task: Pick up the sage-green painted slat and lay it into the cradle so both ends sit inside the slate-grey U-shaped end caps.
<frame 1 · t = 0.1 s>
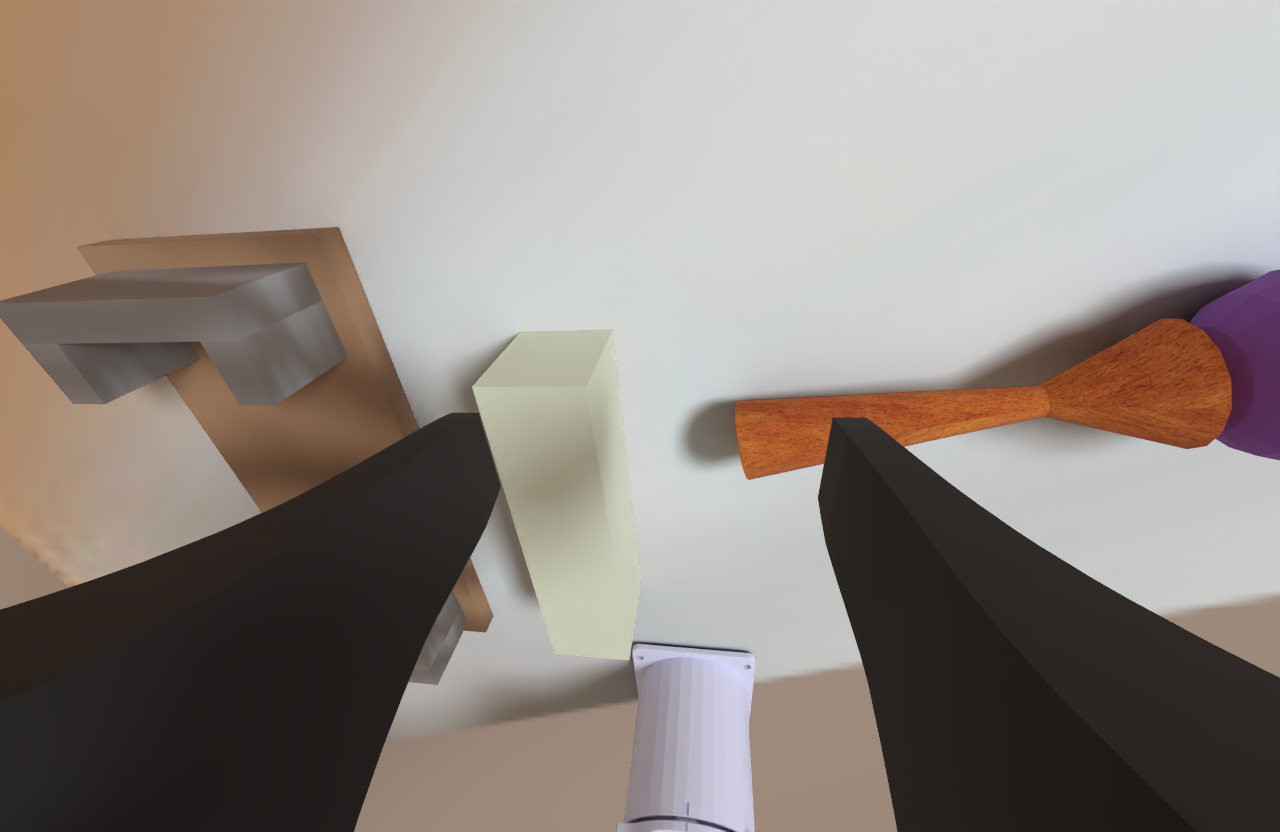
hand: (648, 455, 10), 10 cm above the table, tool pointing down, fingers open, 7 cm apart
slat: (592, 475, 24), on the table
cradle: (344, 471, 26), on the table
brown piece: (992, 368, 18), on the table
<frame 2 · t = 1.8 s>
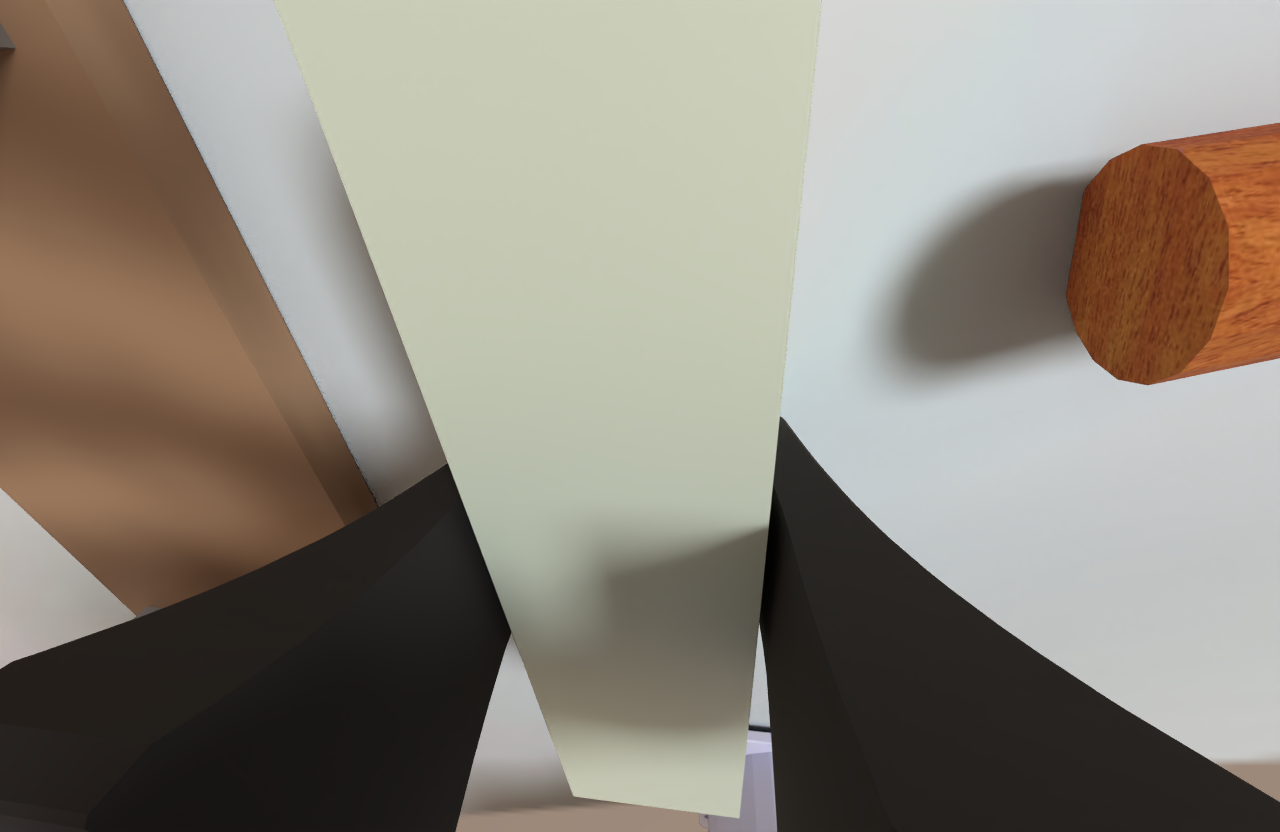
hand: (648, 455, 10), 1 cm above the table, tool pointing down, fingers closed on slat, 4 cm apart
slat: (655, 413, 11), on the table, touching gripper
cradle: (154, 412, 13), on the table
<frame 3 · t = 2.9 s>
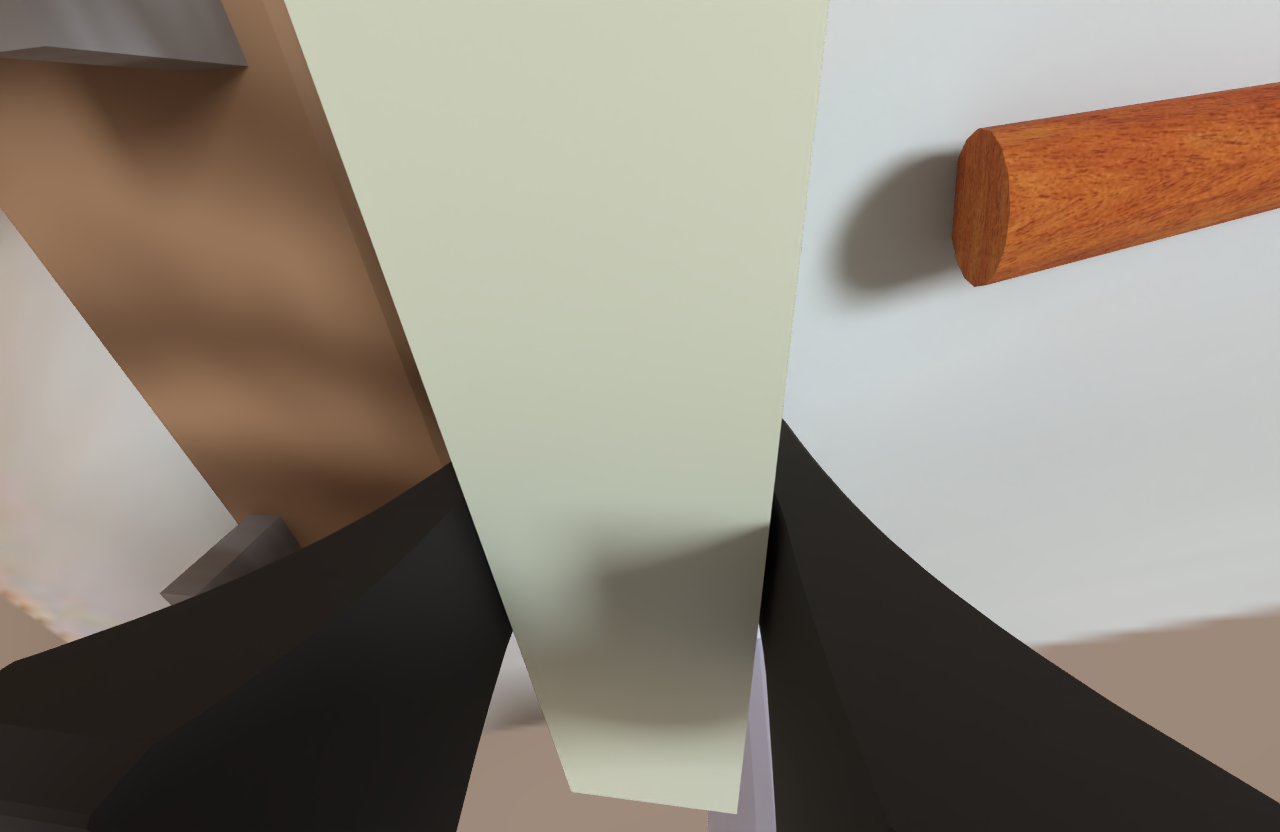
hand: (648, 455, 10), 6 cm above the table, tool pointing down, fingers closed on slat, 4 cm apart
slat: (656, 410, 11), point 4 cm above the table, touching gripper
cradle: (277, 343, 17), on the table
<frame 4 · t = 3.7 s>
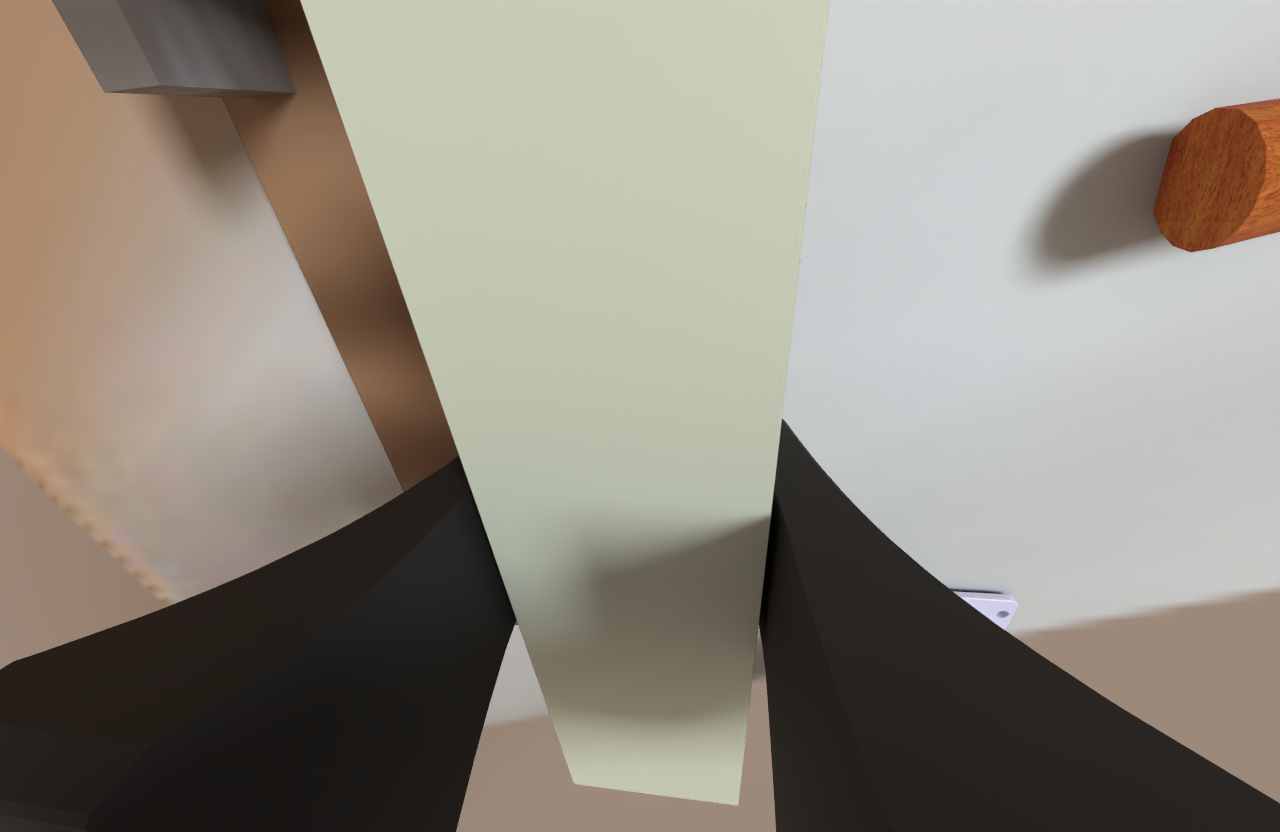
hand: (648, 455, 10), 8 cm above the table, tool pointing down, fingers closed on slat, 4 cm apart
slat: (658, 405, 11), point 7 cm above the table, touching gripper
cradle: (479, 321, 18), on the table
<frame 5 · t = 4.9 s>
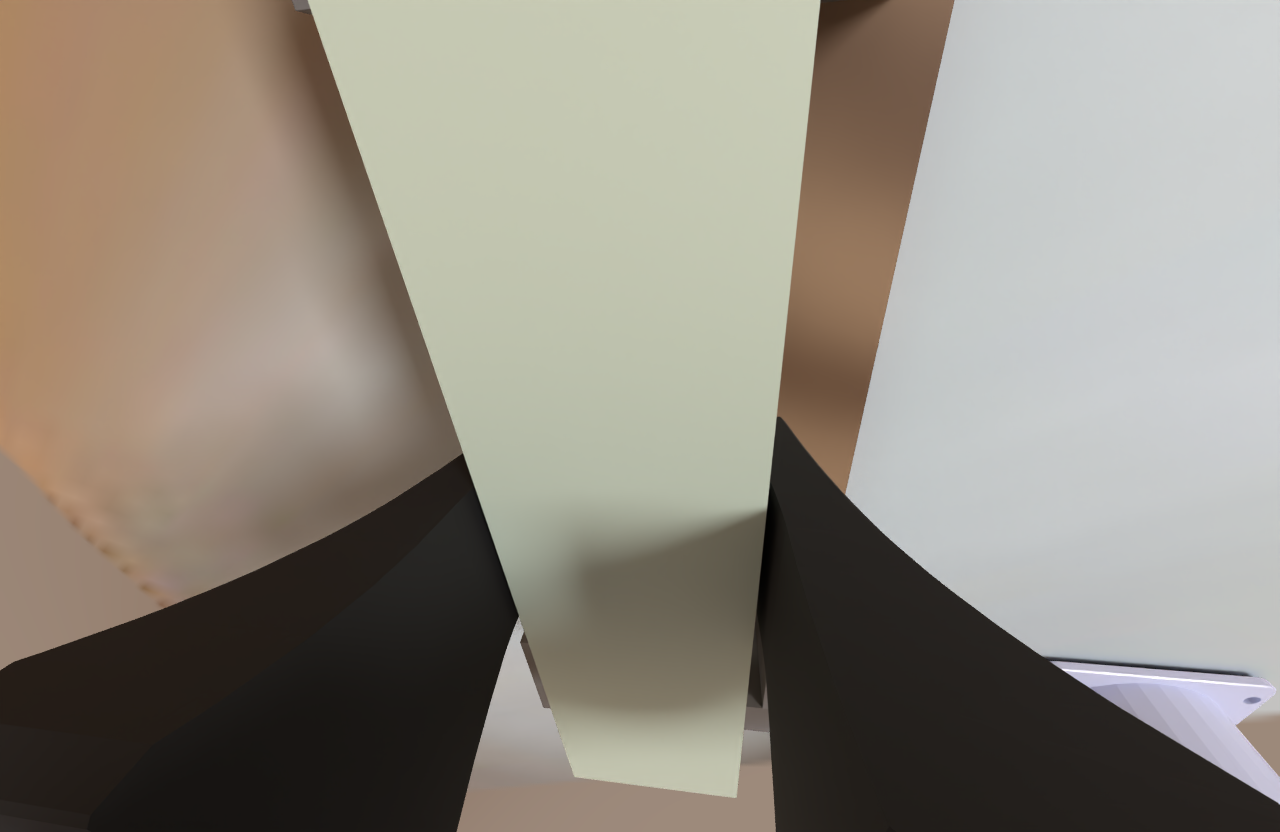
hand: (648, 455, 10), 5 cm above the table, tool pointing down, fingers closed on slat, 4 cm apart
slat: (657, 402, 11), point 3 cm above the table, touching gripper
cradle: (669, 349, 14), on the table
when the fingers open (4 cm above the table, at t = 5.6 s): slat stays where it is, resting on cradle.
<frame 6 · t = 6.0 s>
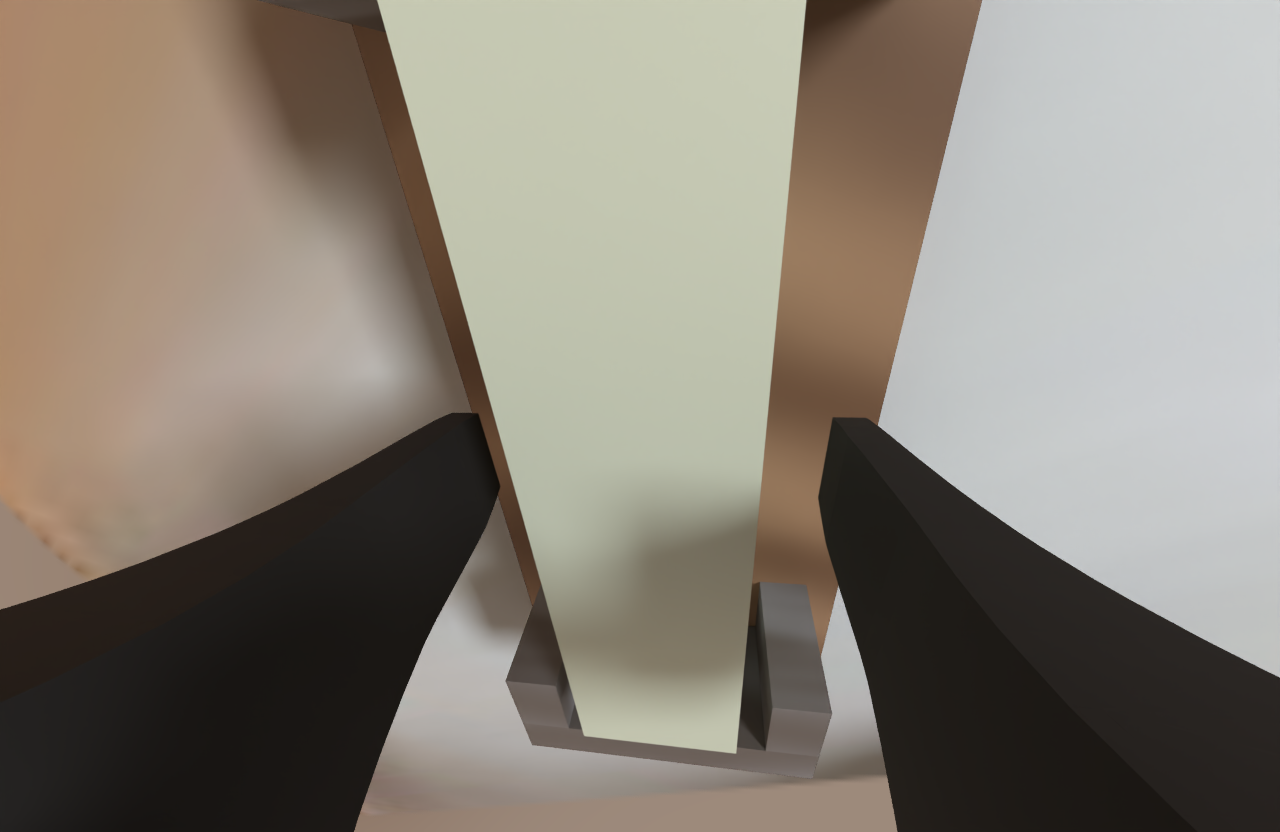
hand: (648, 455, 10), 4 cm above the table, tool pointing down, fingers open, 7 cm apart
slat: (662, 384, 12), point 1 cm above the table, touching cradle
cradle: (665, 366, 13), on the table
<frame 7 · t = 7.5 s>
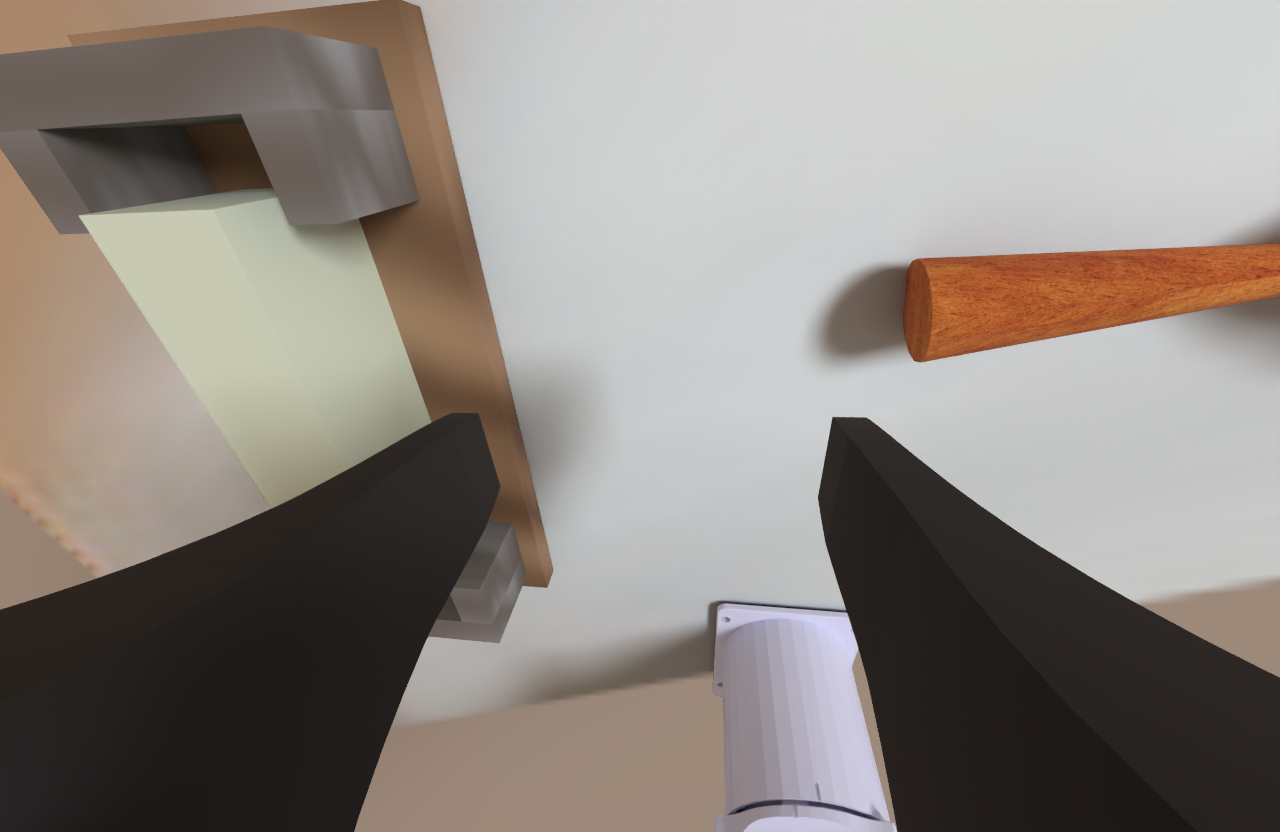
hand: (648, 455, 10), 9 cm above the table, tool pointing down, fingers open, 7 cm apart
slat: (377, 391, 20), point 1 cm above the table, touching cradle
cradle: (393, 379, 21), on the table
brown piece: (1243, 241, 15), on the table
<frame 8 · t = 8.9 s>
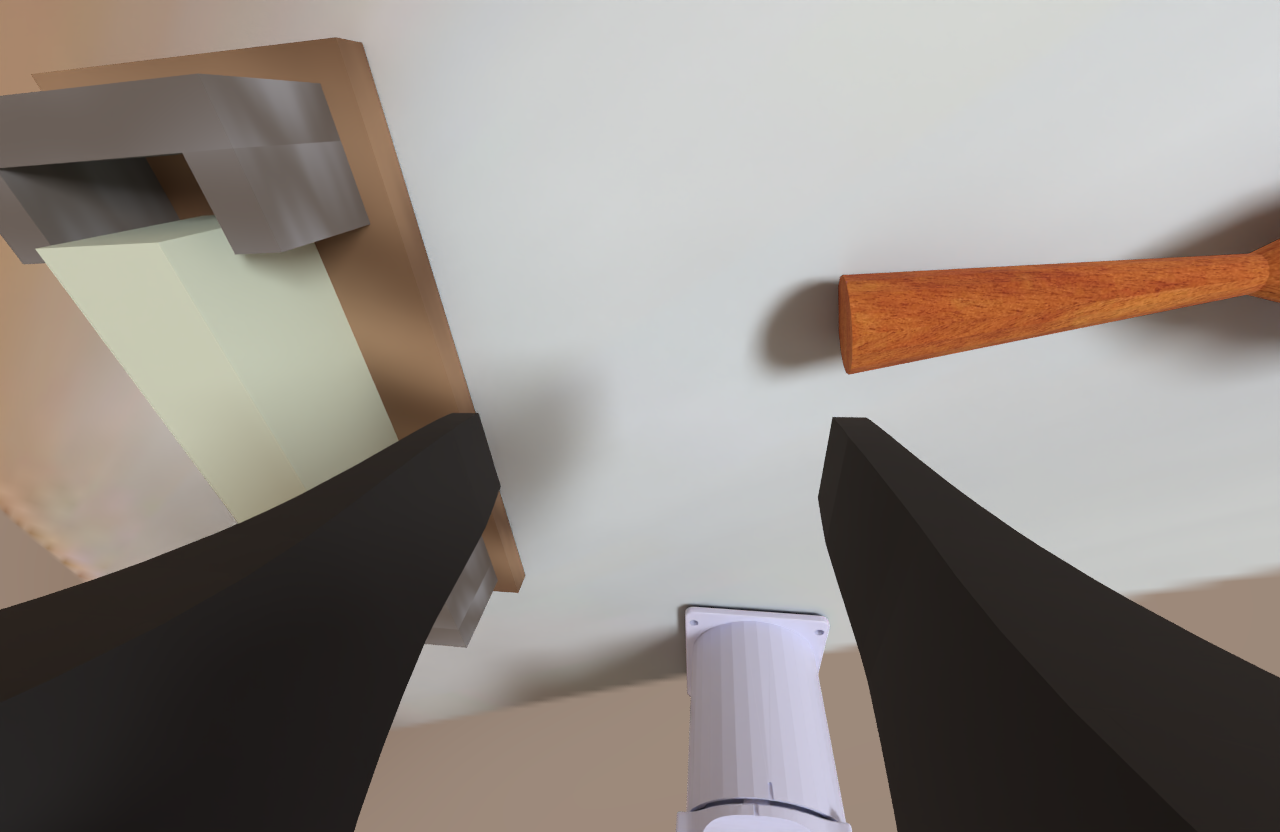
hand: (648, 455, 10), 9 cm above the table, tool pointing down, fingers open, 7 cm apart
slat: (343, 405, 21), point 1 cm above the table, touching cradle
cradle: (360, 393, 22), on the table
brown piece: (1158, 252, 15), on the table
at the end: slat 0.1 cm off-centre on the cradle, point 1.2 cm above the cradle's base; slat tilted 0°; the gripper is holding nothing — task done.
